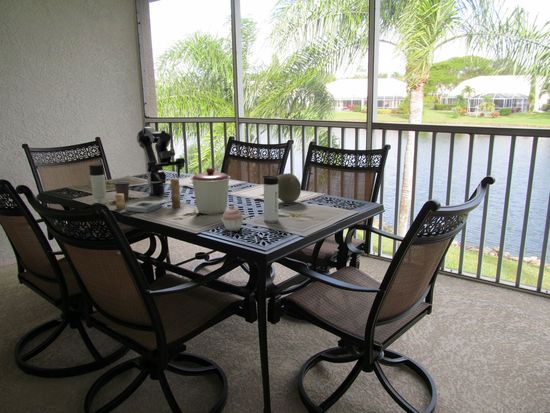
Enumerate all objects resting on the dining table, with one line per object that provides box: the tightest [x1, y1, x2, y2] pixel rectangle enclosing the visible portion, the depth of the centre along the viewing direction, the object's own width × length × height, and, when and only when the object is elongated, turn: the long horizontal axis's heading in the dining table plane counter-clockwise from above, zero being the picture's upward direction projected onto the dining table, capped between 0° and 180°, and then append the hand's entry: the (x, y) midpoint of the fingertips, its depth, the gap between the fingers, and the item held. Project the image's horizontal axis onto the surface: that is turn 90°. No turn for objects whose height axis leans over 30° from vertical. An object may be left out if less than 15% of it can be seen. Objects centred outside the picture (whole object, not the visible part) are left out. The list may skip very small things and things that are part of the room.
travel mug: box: [262, 175, 279, 224], centre depth 186 cm, size 6×7×20 cm
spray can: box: [88, 163, 108, 205], centre depth 219 cm, size 7×7×20 cm
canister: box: [190, 166, 231, 215], centre depth 202 cm, size 18×18×21 cm
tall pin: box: [169, 177, 181, 209], centre depth 212 cm, size 4×4×14 cm
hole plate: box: [125, 200, 163, 214], centre depth 211 cm, size 12×12×2 cm
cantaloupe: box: [276, 173, 302, 203], centre depth 219 cm, size 14×14×15 cm
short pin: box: [114, 193, 126, 210], centre depth 211 cm, size 4×4×7 cm
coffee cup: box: [113, 180, 131, 201], centre depth 228 cm, size 8×8×10 cm
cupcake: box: [220, 205, 245, 232], centre depth 177 cm, size 9×9×10 cm
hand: (170, 178), depth 218 cm, fingers open, 9 cm apart
